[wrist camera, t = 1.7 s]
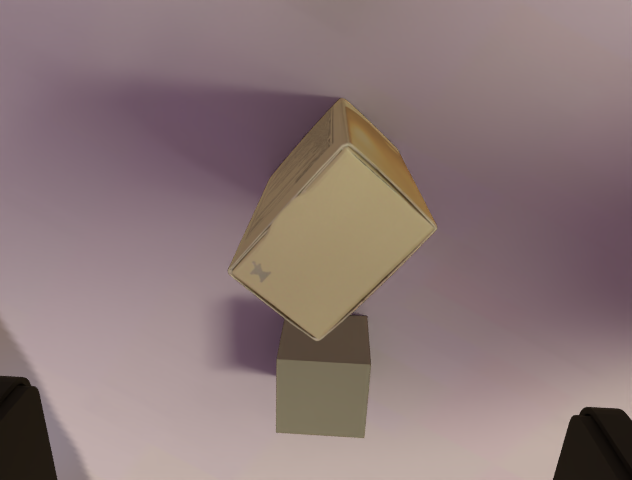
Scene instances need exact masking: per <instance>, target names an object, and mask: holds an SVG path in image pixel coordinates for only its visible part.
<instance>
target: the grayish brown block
mask: <svg viewBox="0 0 632 480" xmlns="http://www.w3.org/2000/svg"><path fill="white" fill-rule="evenodd" d="M370 370H371V359H370V346H369V333H368V320H367V316H358V315H349V316H348V317H347V318H346V319H345V320H344V321H343V322H341V323H340V324H339V325H338V326H337V327H336V328H334V329H333V330H332V331H331V332H330V333H328V334H327V335H326V336H325V337H324V338H322V339H321V340H319V341H315V340H313V339H312V338H310V337H309V336H308V335H307V334H305V333H304V332H303V331H301V330H299V329H298V328H296V327H295V326H294V325H292V324H291V323H290V322H288V321H287V320H286V319H284V324H283V329H282V334H281V339H280V344H279V349H278V354H277V364H276V433H291V434H307V435H323V436H339V437H355V438H364V436H365V425H366V414H367V403H368V392H369V381H370Z"/></svg>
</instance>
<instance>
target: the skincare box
mask: <svg viewBox="0 0 632 480" xmlns="http://www.w3.org/2000/svg"><path fill="white" fill-rule="evenodd" d="M436 230H437V225H436V223H435V221H434V219H433V217H432V215H431V213H430V212H429V210H428V208H427V206H426V204H425V202H424V200H423V198H422V196H421V194H420V192H419V190H418V188H417V186H416V184H415V182H414V180H413V178H412V176H411V174H410V172H409V170H408V169H407V167H406V165H405V163H404V161H403V159H402V157H401V155H400V153H399V151H398V149H397V148H396V147H395V146H394V145H393V144H392V143H391V142H390V141H389V140H388V139H387V138H386V137H385V136H384V135H383V134H382V133H381V132H380V131H379V130H378V129H377V128H376V127H375V126H374V125H373V124H372V123H371V122H370V121H368V120H367V119H366V118H365V117H364V116H363V115H362V114H361V113H360V112H359V111H358V110H357V109H356V108H355V107H354V106H352V105H351V104H350V103H349V102H348V101H347V100H346V99H343V98H341V99H339V100H338V101H337V102H336V103H335V104H334V105H333V106H332V107H331V108H330V109H329V110H328V111H327V112H326V114H325V115H324V116H323V117H322V118H321V119H320V120H319V121H318V122H317V123H316V125H315V126H314V127H313V128H312V129H311V130H310V131H309V132H308V133H307V135H306V136H305V137H304V138H303V139H302V140H301V142H300V143H299V144H298V145H297V146H296V147H295V148H294V150H293V151H292V152H291V153H290V154H289V156H288V157H287V158H286V159H285V160H284V161H283V163H282V164H281V165H280V166H279V168H278V169H277V170H276V171H275V172H274V174H273V175H272V176H271V177H270V179H269V181H268V183H267V185H266V187H265V189H264V192H263V194H262V196H261V198H260V201H259V203H258V205H257V207H256V209H255V212H254V214H253V216H252V218H251V220H250V222H249V225H248V227H247V229H246V231H245V233H244V235H243V238H242V240H241V242H240V244H239V246H238V249H237V251H236V253H235V255H234V257H233V260H232V262H231V264H230V266H229V268H228V274H229V275H230V276H232V277H233V278H234V279H235V280H237V281H238V282H239V283H241V284H242V285H243V286H244V287H245V288H246V289H248V290H249V291H250V292H252V293H253V294H254V295H255V296H257V297H258V298H259V299H260V300H261V301H263V302H264V303H265V304H267V305H268V306H269V307H270V308H272V309H273V310H274V311H275V312H277V313H278V314H279V315H280V316H282V317H283V318H284V319H286V320H287V321H288V322H290V323H291V324H292V325H294V326H295V327H296V328H298V329H299V330H301V331H303V332H304V333H305V334H307V335H308V336H309V337H310V338H312V339H313V340H315V341H319V340H321V339H322V338H324V337H325V336H326V335H327V334H328V333H330V332H331V331H332V330H333V329H334V328H336V327H337V326H338V325H339V324H340V323H341V322H343V321H344V320H345V319H346V318H347V317H348V316H349V315H350V314H351V313H352V312H354V311H355V310H356V309H357V308H358V307H359V306H360V305H361V304H362V303H363V302H364V301H365V300H366V299H367V298H368V297H369V296H371V295H372V294H373V293H374V292H375V291H376V290H377V289H378V288H379V287H380V286H381V285H382V284H383V283H384V282H385V281H386V280H387V279H388V278H389V277H390V276H391V275H392V274H393V273H394V272H395V271H396V270H397V269H398V268H399V267H400V266H401V265H403V264H404V263H405V262H406V261H407V260H408V258H409V257H410V256H411V255H412V254H413V253H414V252H415V251H416V250H417V249H418V248H419V247H420V246H421V245H422V244H423V243H424V242H425V241H426V240H427V239H428V238H429V237H430V236H431V235H432V234H433V233H434V232H435V231H436Z"/></svg>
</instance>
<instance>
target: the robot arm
mask: <svg viewBox="0 0 632 480" xmlns="http://www.w3.org/2000/svg"><path fill="white" fill-rule="evenodd" d="M0 480H57V476H56V471H55V466H54V461H53V456H52V451H51V447H50V442H49V437H48V432H47V428H46V423H45V419H44V414H43V409H42V404H41V399H40V394H39V391H38V389H37V388H36V387H34V386H31V384H30V382H29V380H28V379H27V378H24V377H11V376H0ZM553 480H632V420H631V419H630V418H629V416H628V415H627V414H626V413H625V412H624V411H623V410H621V409H616V408H597V407H585V408H583V409H582V410H581V412H580V414H579V415H573V416H572V417H571V419H570V422H569V425H568V429H567V432H566V436H565V439H564V443H563V446H562V450H561V453H560V457H559V460H558V464H557V467H556V471H555V474H554V478H553Z"/></svg>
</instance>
